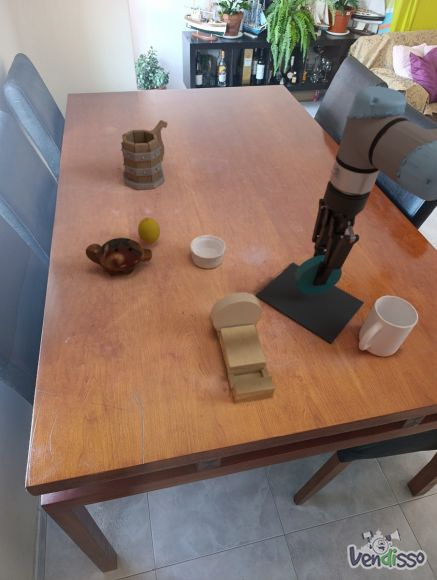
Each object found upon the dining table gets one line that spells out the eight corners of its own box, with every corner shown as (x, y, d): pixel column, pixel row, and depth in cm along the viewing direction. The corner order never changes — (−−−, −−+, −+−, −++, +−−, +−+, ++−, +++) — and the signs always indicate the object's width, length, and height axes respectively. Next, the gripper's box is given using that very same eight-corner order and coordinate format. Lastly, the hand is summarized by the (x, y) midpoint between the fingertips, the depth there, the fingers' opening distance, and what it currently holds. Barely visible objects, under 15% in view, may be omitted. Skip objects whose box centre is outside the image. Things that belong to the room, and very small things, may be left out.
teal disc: (334, 292, 86) (348, 260, 79) (293, 297, 84) (303, 264, 77) (330, 285, 87) (343, 252, 80) (290, 289, 86) (299, 256, 78)
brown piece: (86, 261, 93) (81, 234, 87) (146, 252, 98) (146, 226, 92) (91, 286, 86) (87, 259, 81) (156, 276, 91) (156, 249, 86)
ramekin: (231, 256, 97) (232, 243, 94) (211, 275, 92) (212, 262, 89) (203, 243, 100) (204, 230, 97) (183, 260, 95) (182, 247, 92)
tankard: (146, 194, 115) (142, 147, 104) (115, 181, 119) (108, 134, 108) (184, 168, 127) (184, 124, 116) (155, 157, 131) (151, 113, 120)
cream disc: (258, 330, 78) (265, 298, 71) (211, 336, 76) (214, 304, 69) (255, 321, 80) (262, 289, 72) (209, 327, 78) (211, 295, 71)
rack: (271, 401, 70) (276, 387, 66) (233, 407, 68) (235, 394, 65) (245, 318, 83) (248, 303, 79) (212, 322, 82) (214, 307, 78)
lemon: (135, 241, 99) (132, 216, 93) (153, 234, 102) (151, 209, 96) (147, 252, 96) (144, 227, 90) (164, 244, 99) (163, 219, 93)
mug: (367, 372, 75) (387, 342, 67) (337, 343, 80) (353, 312, 72) (405, 346, 80) (427, 316, 72) (374, 321, 84) (392, 289, 77)
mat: (363, 303, 88) (364, 302, 88) (330, 344, 79) (331, 343, 79) (292, 263, 96) (292, 262, 96) (255, 296, 88) (255, 295, 87)
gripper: (313, 164, 70) (289, 257, 87) (349, 212, 60) (313, 307, 77) (350, 162, 72) (319, 254, 89) (390, 209, 61) (346, 303, 78)
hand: (316, 278), depth 83 cm, fingers closed on teal disc, 2 cm apart
